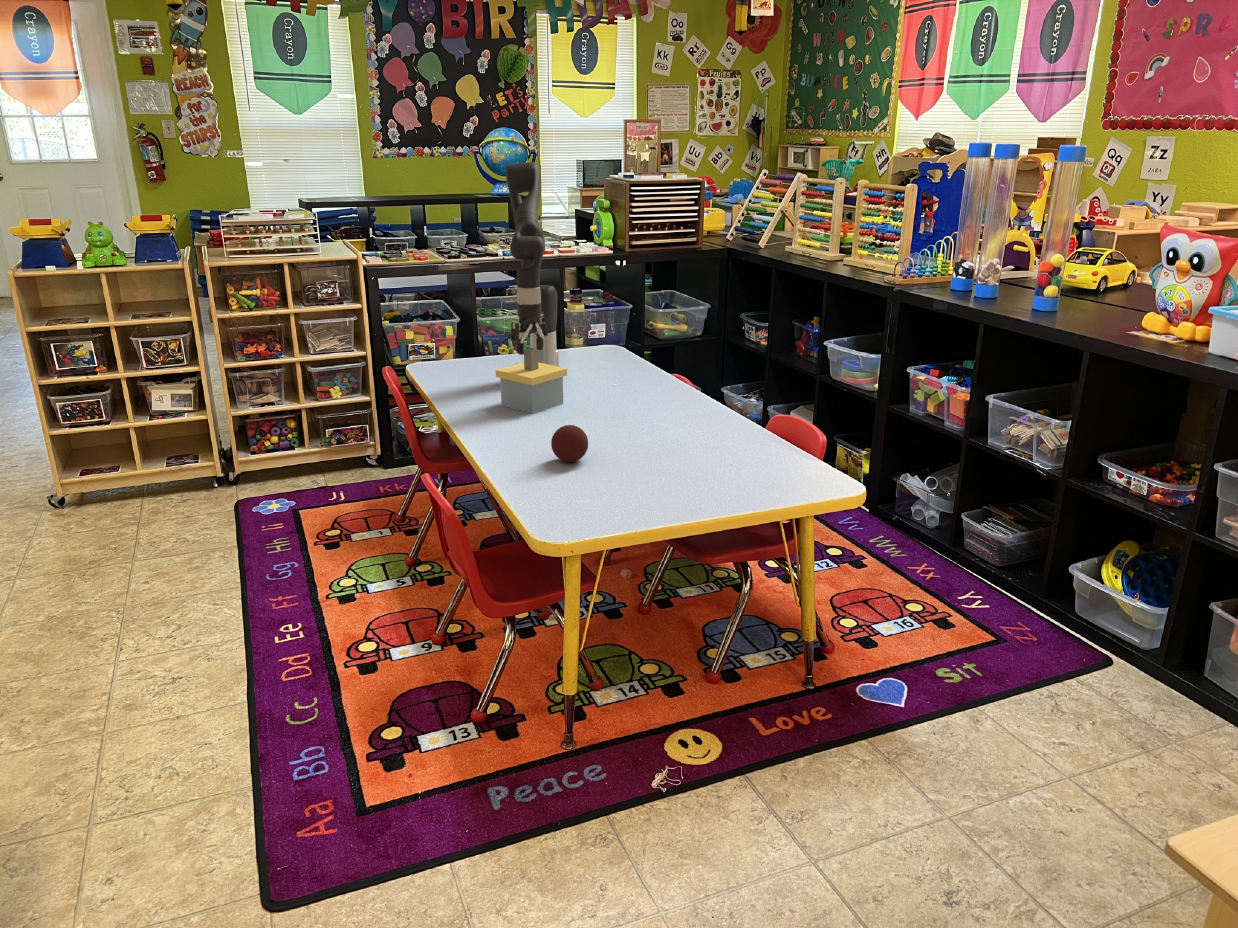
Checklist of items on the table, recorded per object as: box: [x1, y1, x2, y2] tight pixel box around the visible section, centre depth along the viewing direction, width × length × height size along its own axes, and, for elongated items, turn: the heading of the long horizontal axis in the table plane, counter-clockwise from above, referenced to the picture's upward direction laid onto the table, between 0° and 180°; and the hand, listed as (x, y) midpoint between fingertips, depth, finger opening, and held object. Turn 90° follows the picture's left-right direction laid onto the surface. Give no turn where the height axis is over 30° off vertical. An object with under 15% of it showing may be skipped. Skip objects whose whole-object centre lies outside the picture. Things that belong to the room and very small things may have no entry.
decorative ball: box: [550, 424, 589, 463], centre depth 241 cm, size 10×10×10 cm
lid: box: [495, 347, 568, 385], centre depth 288 cm, size 16×16×9 cm
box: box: [499, 376, 564, 414], centre depth 291 cm, size 14×14×11 cm
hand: (530, 352), depth 287 cm, fingers open, 8 cm apart
